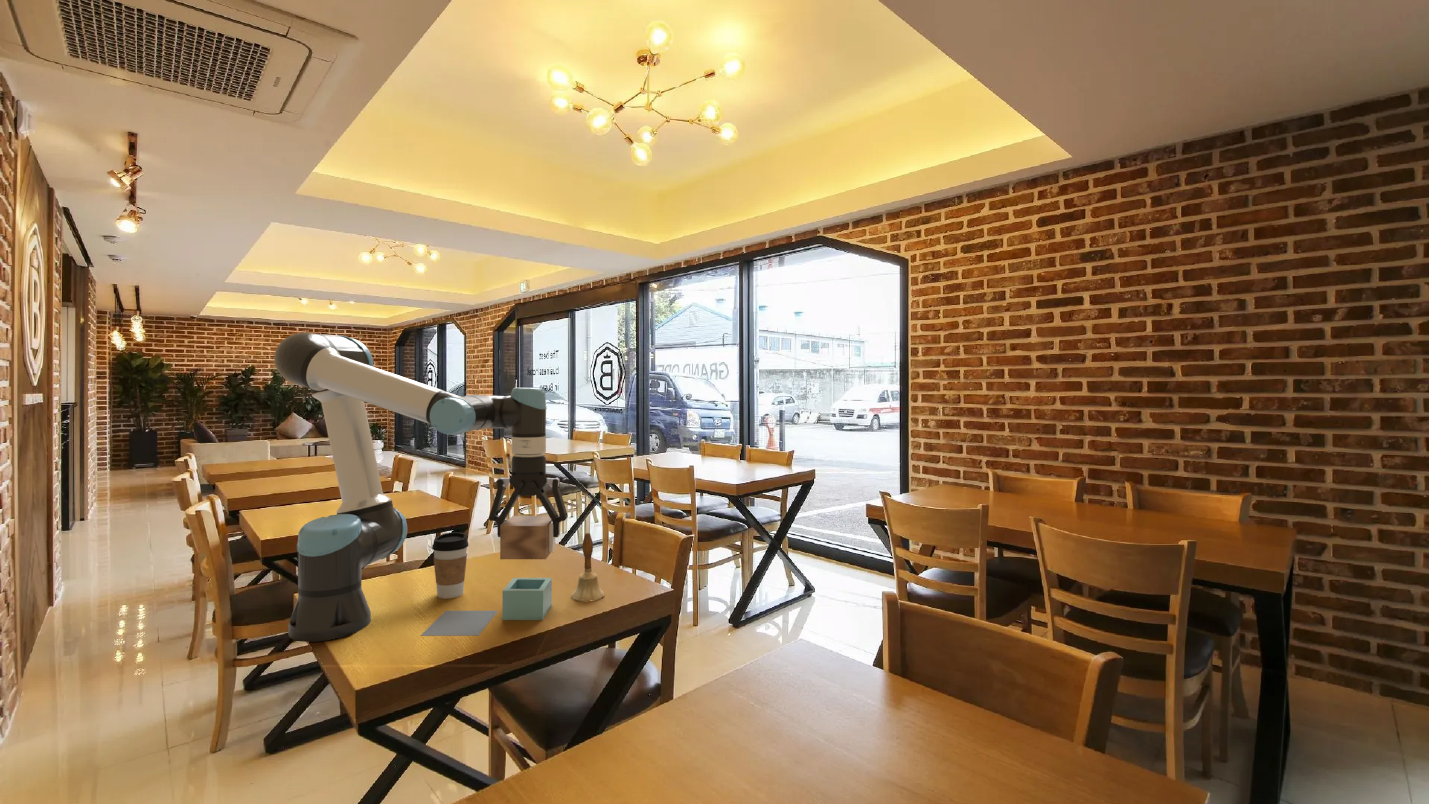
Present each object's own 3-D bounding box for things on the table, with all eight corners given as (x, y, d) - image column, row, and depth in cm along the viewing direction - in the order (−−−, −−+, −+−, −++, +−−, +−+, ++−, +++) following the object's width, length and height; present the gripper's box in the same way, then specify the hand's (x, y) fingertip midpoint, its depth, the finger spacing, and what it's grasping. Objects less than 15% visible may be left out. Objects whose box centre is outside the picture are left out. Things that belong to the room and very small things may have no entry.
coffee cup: (474, 590, 160) (474, 532, 159) (457, 602, 151) (458, 541, 151) (443, 589, 161) (443, 531, 160) (424, 600, 152) (424, 539, 152)
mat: (420, 637, 131) (420, 635, 131) (445, 612, 145) (445, 610, 145) (478, 637, 132) (478, 635, 132) (498, 612, 146) (498, 610, 146)
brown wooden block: (500, 559, 139) (500, 525, 139) (512, 547, 149) (512, 515, 149) (545, 559, 140) (545, 526, 139) (555, 547, 150) (555, 516, 149)
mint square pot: (502, 621, 140) (502, 590, 140) (513, 606, 149) (513, 577, 149) (543, 621, 141) (543, 590, 140) (551, 606, 150) (551, 577, 149)
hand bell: (586, 604, 152) (587, 539, 151) (564, 596, 157) (564, 533, 156) (611, 595, 158) (612, 533, 158) (589, 588, 163) (590, 527, 163)
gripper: (473, 456, 139) (473, 555, 140) (575, 457, 140) (575, 555, 141) (484, 452, 147) (484, 546, 148) (581, 453, 148) (580, 546, 149)
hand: (528, 550), depth 144 cm, fingers closed on brown wooden block, 10 cm apart
